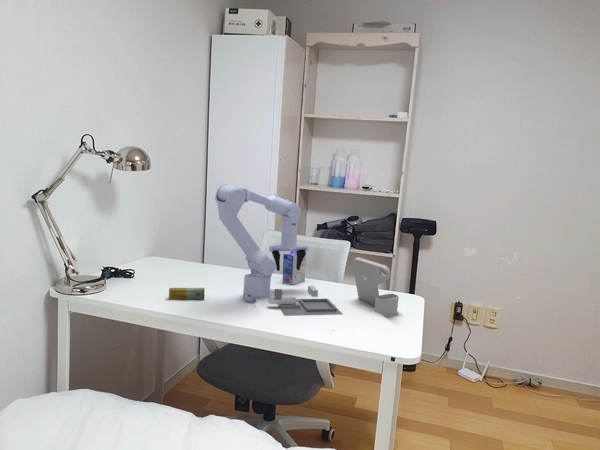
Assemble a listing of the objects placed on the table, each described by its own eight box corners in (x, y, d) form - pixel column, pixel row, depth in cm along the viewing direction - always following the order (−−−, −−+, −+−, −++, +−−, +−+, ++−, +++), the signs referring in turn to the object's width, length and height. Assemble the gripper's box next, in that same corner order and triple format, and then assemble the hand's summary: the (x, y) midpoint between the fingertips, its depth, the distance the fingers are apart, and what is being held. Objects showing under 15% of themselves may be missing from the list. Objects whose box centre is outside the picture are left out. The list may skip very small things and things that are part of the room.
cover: (304, 302, 168) (305, 291, 167) (299, 295, 176) (300, 284, 175) (325, 302, 170) (326, 291, 170) (319, 295, 178) (320, 284, 177)
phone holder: (400, 314, 162) (406, 264, 159) (381, 319, 156) (387, 267, 153) (363, 299, 175) (368, 253, 172) (344, 303, 169) (349, 255, 166)
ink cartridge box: (294, 277, 198) (296, 244, 196) (305, 280, 195) (307, 247, 193) (281, 282, 190) (283, 247, 187) (292, 285, 187) (294, 250, 184)
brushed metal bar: (269, 304, 153) (270, 291, 152) (268, 301, 155) (269, 289, 154) (296, 303, 155) (297, 290, 155) (294, 301, 157) (295, 288, 157)
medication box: (204, 298, 163) (204, 287, 163) (204, 300, 161) (204, 289, 160) (169, 298, 161) (169, 287, 161) (168, 300, 159) (168, 289, 158)
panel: (284, 320, 148) (284, 312, 147) (273, 303, 163) (274, 296, 162) (342, 318, 153) (343, 310, 153) (327, 302, 168) (328, 295, 168)
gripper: (272, 237, 165) (271, 273, 168) (311, 236, 169) (309, 272, 171) (268, 233, 172) (267, 268, 174) (305, 232, 175) (304, 266, 178)
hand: (288, 269), depth 173 cm, fingers open, 7 cm apart
